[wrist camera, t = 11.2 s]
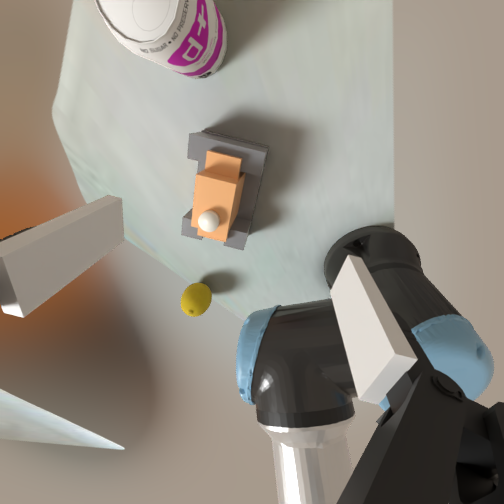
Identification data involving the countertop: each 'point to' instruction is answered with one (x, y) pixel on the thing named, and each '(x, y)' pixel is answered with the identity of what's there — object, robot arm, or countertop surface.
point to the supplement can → (170, 32)
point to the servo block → (217, 195)
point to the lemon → (196, 299)
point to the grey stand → (250, 165)
